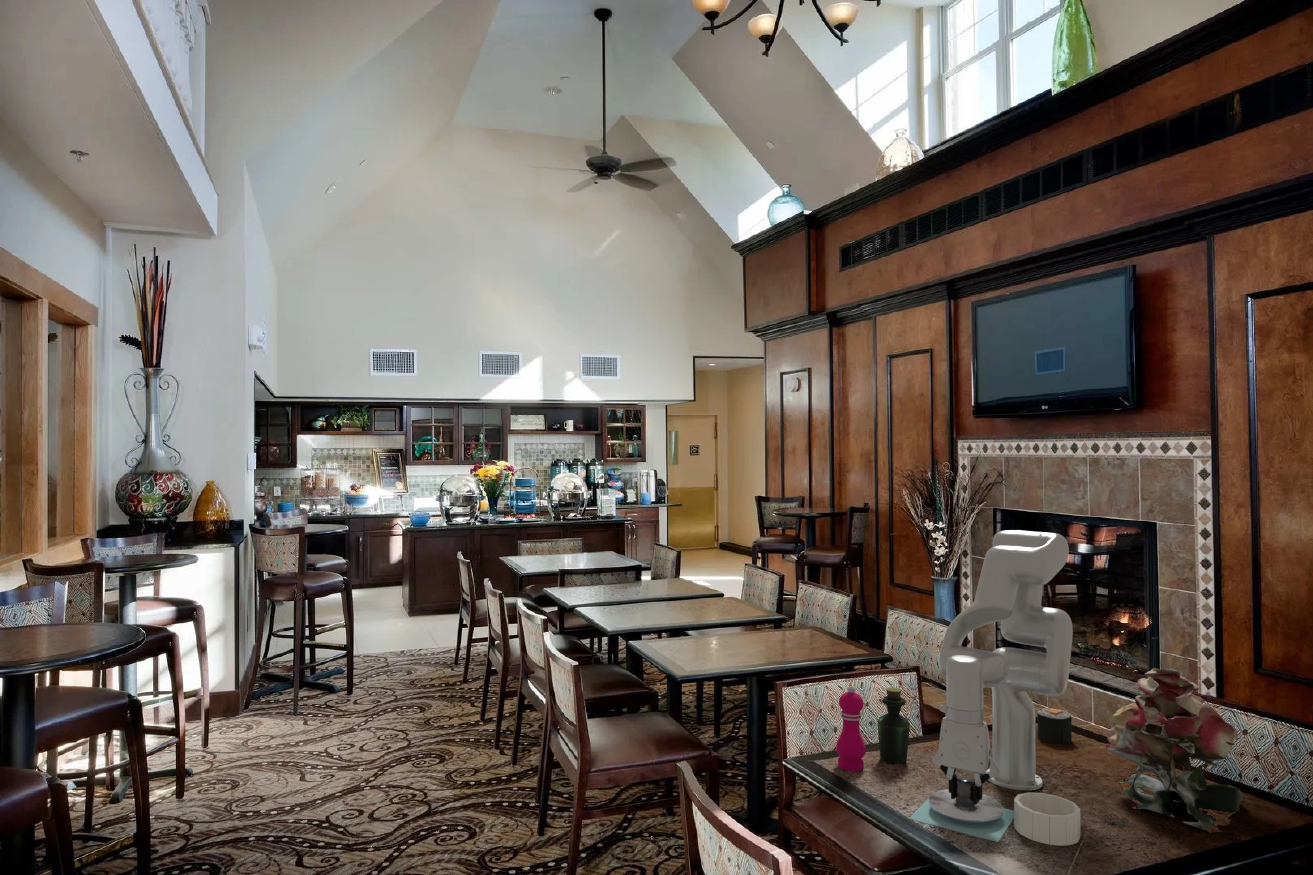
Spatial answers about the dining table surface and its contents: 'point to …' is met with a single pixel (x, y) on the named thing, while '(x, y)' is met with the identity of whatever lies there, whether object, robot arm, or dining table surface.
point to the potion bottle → (893, 729)
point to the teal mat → (965, 823)
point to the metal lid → (965, 804)
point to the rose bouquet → (1174, 747)
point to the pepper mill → (851, 732)
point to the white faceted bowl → (1047, 818)
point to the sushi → (1054, 726)
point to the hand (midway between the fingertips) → (965, 798)
